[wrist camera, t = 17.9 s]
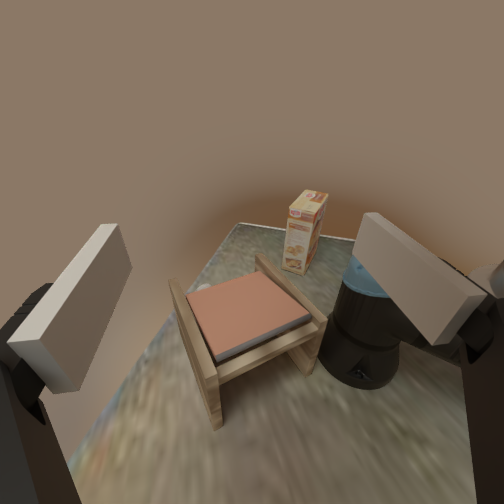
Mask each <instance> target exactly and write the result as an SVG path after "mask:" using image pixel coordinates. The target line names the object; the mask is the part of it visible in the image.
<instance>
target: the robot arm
mask: <svg viewBox="0 0 504 504" xmlns="http://www.w3.org/2000/svg"><path fill="white" fill-rule="evenodd" d="M352 254H353V255H352V257H351V259H350V261H349V264H348V266H347V268H346V270H345V271H344V273H343V281H342V284H341V287H340V291H339V294H338V297H337V300H336V303H335V306H334V310H333V311H332V312H331V313H330V314H329V316H328V317H327V319H328V322H327V325H326V328H325V331H324V335H323V338H322V341H321V345H320V348H319V351H318V354H317V355H318V357H319V359H320V361H321V363H322V364H323V366H324V367H325V368H326V369H327V370H328V371H329V372H330V373H331V374H332V375H333V376H334V377H336V378H337V379H338V380H340V381H342V382H343V383H345V384H347V385H350V386H352V387H355V388H359V389H366V390H372V389H378V388H381V387H383V386H385V385H387V384H388V383H389V382H390V381H391V379H392V378H393V376H394V375H395V373H396V372H397V369H398V365H399V343H400V342H401V341H404V342H406V343H408V344H410V345H413V346H415V347H417V348H419V349H421V350H423V351H426V352H428V353H430V354H432V355H434V356H436V357H439V358H441V359H443V360H445V361H447V362H450V363H452V364H454V365H456V366H458V367H460V368H461V370H462V378H463V387H464V395H465V404H466V412H467V421H468V430H469V438H470V447H471V455H472V464H473V472H474V481H475V489H476V498H477V504H504V260H503V261H502V262H501V263H500V264H492V265H491V264H490V265H485V266H481V267H479V268H477V269H474V270H473V271H472V272H471V273H470V274H469V275H468V276H464V274H463V273H461V272H460V271H459V270H456V268H455V267H453V266H452V265H451V264H449V263H448V262H447V261H445V260H443V259H441V258H439V257H436V256H435V255H434V254H433V253H431V252H430V251H429V250H427V249H426V248H424V247H423V246H422V245H420V244H419V243H418V242H416V241H415V240H414V239H412V238H411V237H410V236H408V235H407V234H405V233H404V232H403V231H401V230H400V229H399V228H397V227H396V226H395V225H393V224H392V223H391V222H389V221H388V220H387V219H385V218H384V217H382V216H381V215H380V214H378V213H377V212H375V213H364V216H363V220H362V222H361V226H360V229H359V232H358V235H357V238H356V241H355V245H354V248H353V251H352ZM131 270H132V265H131V262H130V259H129V256H128V253H127V250H126V247H125V244H124V241H123V238H122V235H121V232H120V229H119V226H118V224H101V225H100V226H99V228H98V229H97V230H96V232H95V233H94V234H93V235H92V237H91V238H90V239H89V240H88V241H87V243H86V244H85V245H84V247H83V248H82V249H81V250H80V252H79V253H78V254H77V255H76V256H75V258H74V259H73V260H72V262H71V263H70V264H69V265H68V267H67V268H66V269H65V270H64V271H63V273H62V274H61V275H60V276H59V278H58V279H57V280H56V281H55V283H46V284H45V285H43V286H42V287H40V288H39V289H37V290H36V291H35V292H33V293H32V294H31V295H30V296H29V298H28V299H26V301H25V302H24V303H23V304H22V307H20V308H19V309H18V310H17V311H16V312H15V313H14V316H12V317H11V318H10V319H9V320H8V321H7V322H6V324H5V325H4V326H3V327H2V328H1V329H0V504H82V503H81V500H80V498H79V495H78V493H77V490H76V487H75V485H74V482H73V480H72V477H71V474H70V472H69V469H68V467H67V464H66V461H65V459H64V456H63V454H62V451H61V448H60V446H59V443H58V440H57V438H56V435H55V433H54V430H53V428H52V425H51V422H50V420H49V417H48V414H47V412H46V409H45V407H44V404H43V402H42V401H41V400H40V399H39V398H38V397H39V395H40V393H41V392H42V390H43V388H44V386H45V385H46V387H47V388H48V389H49V390H50V391H51V392H52V393H53V394H60V393H67V392H75V391H79V390H80V388H81V385H82V383H83V381H84V378H85V376H86V374H87V371H88V369H89V367H90V364H91V362H92V360H93V358H94V355H95V353H96V351H97V348H98V346H99V344H100V341H101V339H102V337H103V334H104V332H105V330H106V328H107V325H108V323H109V321H110V318H111V316H112V314H113V311H114V309H115V307H116V304H117V302H118V300H119V297H120V295H121V293H122V291H123V288H124V286H125V283H126V281H127V279H128V277H129V274H130V272H131Z"/></svg>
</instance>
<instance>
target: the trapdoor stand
mask: <svg viewBox="0 0 504 504" xmlns="http://www.w3.org/2000/svg"><path fill="white" fill-rule="evenodd" d="M257 271H261V272H262V273H263V274H264V275H265V276H267V277H268V278H269V279H270V280H271V281H272V282H274V283H275V284H276V285H277V286H278V287H280V288H281V289H282V290H283V291H284V292H286V293H287V294H288V295H289V296H290V297H291V298H293V299H294V300H295V301H296V302H297V303H299V304H300V305H301V306H302V307H303V308H304V309H306V310H307V311H308V312H309V313H310V314H311V316H312V318H311V319H309V320H307V321H305V322H303V323H301V324H299V325H297V326H294V327H292V328H290V329H288V330H286V331H284V332H282V333H279V334H277V335H275V336H276V338H277V339H275V340H273V341H271V342H269V343H266V344H264V345H262V346H260V347H258V348H256V349H254V350H252V351H250V352H248V353H245V354H243V355H241V356H239V357H237V358H235V359H233V360H231V361H229V362H226V363H224V364H222V365H220V366H218V367H216V368H215V366H214V364H213V362H212V359H211V357H210V355H209V352H208V350H207V348H206V345H205V343H204V340H203V338H202V336H201V333H200V331H199V329H198V326H197V324H196V322H195V319H194V317H193V315H192V312H191V310H190V308H189V305H188V303H187V300H186V298H185V296H184V293H183V291H182V289H181V287H180V284H179V282H178V279H177V278H174V279H170V280H168V281H169V286H170V290H171V295H172V299H173V303H174V308H175V312H176V317H177V321H178V325H179V330H180V334H181V337H182V340H183V343H184V346H185V349H186V352H187V354H188V357H189V360H190V363H191V366H192V369H193V372H194V375H195V378H196V381H197V384H198V386H199V389H200V392H201V395H202V398H203V401H204V404H205V407H206V410H207V413H208V416H209V418H210V421H211V424H212V427H213V430H214V431H215V430H217V429H219V428H220V427H222V426H223V420H222V411H221V402H220V392H219V385H221V384H223V383H225V382H227V381H229V380H231V379H233V378H235V377H237V376H239V375H241V374H243V373H245V372H247V371H249V370H251V369H253V368H255V367H257V366H259V365H261V364H262V363H264V362H266V361H268V360H270V359H272V358H274V357H276V356H278V355H280V354H282V353H284V352H287V353H288V355H289V356H290V357H291V359H292V360H293V362H294V363H295V364H296V366H297V367H298V368H299V370H300V371H301V373H302V374H303V375H304V377H307V376H309V375H310V374H312V371H313V367H314V364H315V361H316V358H317V354H318V351H319V348H320V345H321V341H322V338H323V335H324V331H325V328H326V325H327V322H328V319H327V318H326V317H325V316H324V315H323V314H322V313H321V312H320V311H319V310H318V309H317V308H316V307H315V306H314V305H313V304H312V303H311V302H310V301H309V300H308V299H307V298H306V297H305V296H304V295H303V294H302V293H301V292H300V291H299V290H298V289H297V288H296V287H295V286H294V285H293V284H292V283H291V282H290V281H289V280H288V279H287V278H286V277H285V276H284V275H283V274H282V273H281V272H280V271H279V270H278V269H277V268H276V267H275V266H274V265H273V264H272V263H271V262H270V261H269V260H268V259H267V258H266V257H265V256H264V255H263V254H262V253H259V254H256V255H255V272H257Z"/></svg>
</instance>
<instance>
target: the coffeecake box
mask: <svg viewBox="0 0 504 504" xmlns="http://www.w3.org/2000/svg"><path fill="white" fill-rule="evenodd" d="M328 195H329V194H327V193H322V192H317V191H311V190H305V191H304V192H303V193H302V194H301V195H300V196H299V197H298V198H297V199H296V200H295V202H293V204H292V205H291V206H290V207H289V214H288V221H287V229H286V237H285V245H284V253H283V261H282V268H281V269H284V270H287V271H290V272H293V273H295V274H298V275H302V276H304V275H305V273H306V271H307V269H308V267H309V265H310V263H311V261H312V259H313V257H314V255H315V253H316V250H317V245H318V240H319V236H320V231H321V226H322V221H323V217H324V213H325V208H326V203H327V199H328Z"/></svg>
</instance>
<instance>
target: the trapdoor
mask: <svg viewBox="0 0 504 504" xmlns="http://www.w3.org/2000/svg"><path fill="white" fill-rule="evenodd" d="M185 296H186V300H187V302H188V304H189V306H190V308H191V310H192V312H193V314H194V316H195V318H196V321H197V323H198V325H199V327H200V329H201V331H202V333H203V335H204V337H205V339H206V341H207V343H208V345H209V347H210V350H211V352H212V354H213V356H214V358H215V360H216V362H220V361H222V360H224V359H226V358H228V357H230V356H232V355H235V354H237V353H239V352H241V351H243V350H245V349H247V348H250V347H252V346H254V345H256V344H258V343H260V342H262V341H265V340H267V339H269V338H271V337H273V336H275V335H277V334H279V333H282V332H284V331H286V330H288V329H290V328H292V327H294V326H297V325H299V324H301V323H303V322H305V321H307V320H309V319H311V318H312V316H311V314H310V313H309V312H308V311H307V310H306V309H304V308H303V307H302V306H301V305H300V304H299V303H297V302H296V301H295V300H294V299H293V298H291V297H290V296H289V295H288V294H287V293H286V292H284V291H283V290H282V289H281V288H280V287H278V286H277V285H276V284H275V283H274V282H272V281H271V280H270V279H269V278H268V277H267V276H265V275H264V274H263V273H262V272H261V271H257V272H254V273H251V274H248V275H245V276H242V277H239V278H236V279H233V280H230V281H227V282H223V283H220V284H217V285H214V286H211V287H208V288H205V289H202V290H199V291H196V292H193V293H190V294H187V295H185Z"/></svg>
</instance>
